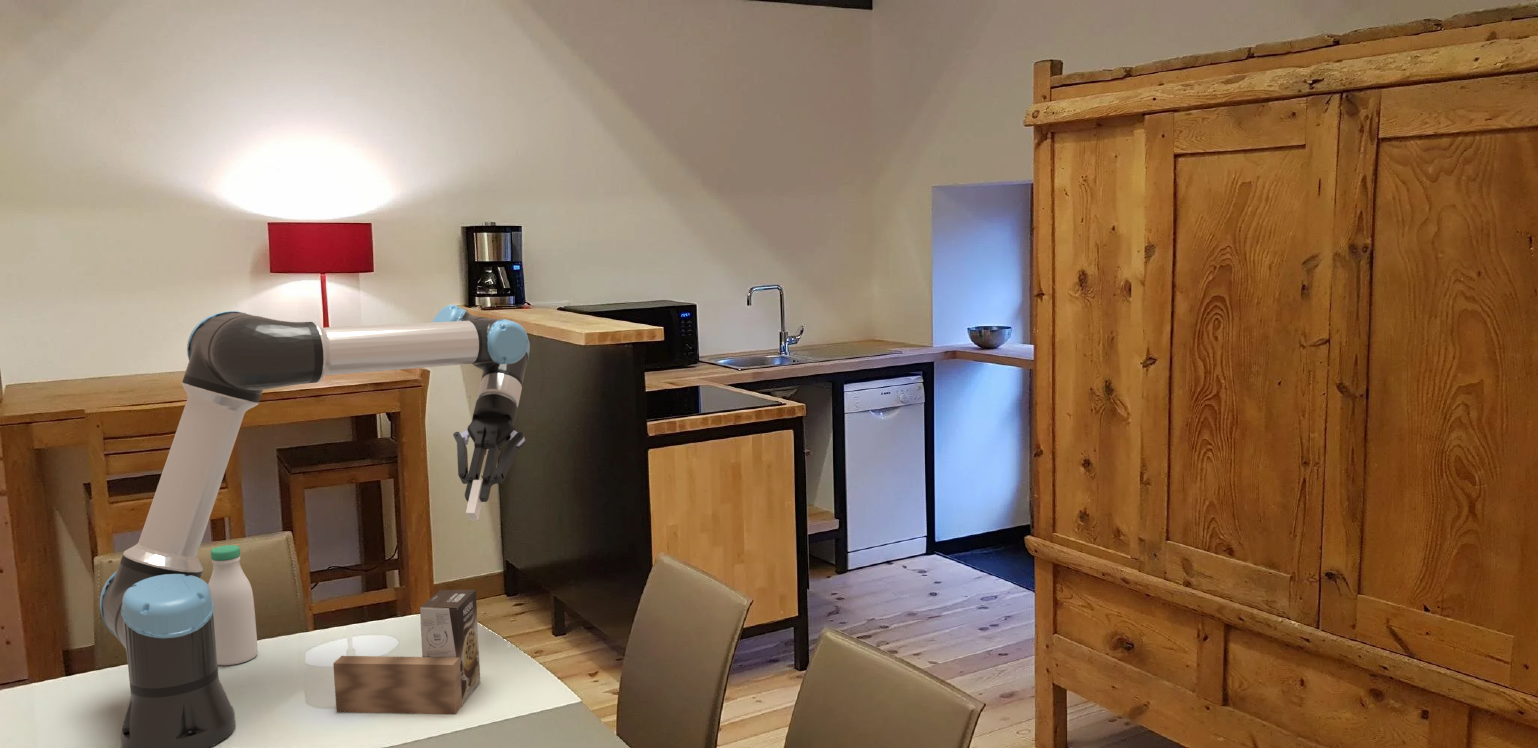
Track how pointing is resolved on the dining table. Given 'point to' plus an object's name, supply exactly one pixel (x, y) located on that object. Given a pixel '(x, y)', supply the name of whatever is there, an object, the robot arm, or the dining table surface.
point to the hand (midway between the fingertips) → (472, 516)
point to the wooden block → (398, 684)
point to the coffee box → (453, 633)
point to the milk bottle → (232, 608)
